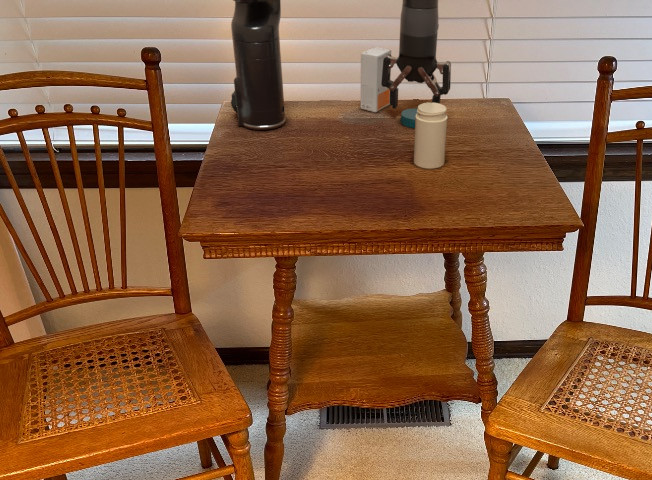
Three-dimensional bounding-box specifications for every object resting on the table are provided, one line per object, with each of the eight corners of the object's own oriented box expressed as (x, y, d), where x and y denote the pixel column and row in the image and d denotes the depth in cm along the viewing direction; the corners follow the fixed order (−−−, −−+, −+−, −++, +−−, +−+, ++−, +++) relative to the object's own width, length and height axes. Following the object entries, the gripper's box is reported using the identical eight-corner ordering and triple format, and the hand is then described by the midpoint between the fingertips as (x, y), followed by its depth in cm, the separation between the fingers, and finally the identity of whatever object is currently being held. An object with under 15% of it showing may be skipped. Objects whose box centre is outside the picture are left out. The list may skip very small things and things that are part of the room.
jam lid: (434, 118, 162) (435, 110, 161) (427, 130, 157) (428, 121, 156) (405, 115, 164) (405, 106, 162) (397, 126, 159) (397, 117, 158)
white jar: (412, 167, 143) (414, 112, 136) (414, 154, 148) (416, 100, 141) (443, 169, 143) (447, 114, 136) (445, 156, 147) (448, 102, 140)
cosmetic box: (376, 113, 164) (376, 56, 157) (360, 109, 166) (359, 52, 158) (390, 105, 168) (392, 49, 161) (374, 101, 170) (375, 45, 162)
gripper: (379, 30, 148) (377, 112, 158) (450, 38, 145) (443, 120, 156) (389, 20, 153) (386, 99, 164) (457, 27, 151) (450, 108, 161)
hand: (414, 110), depth 160 cm, fingers open, 8 cm apart
